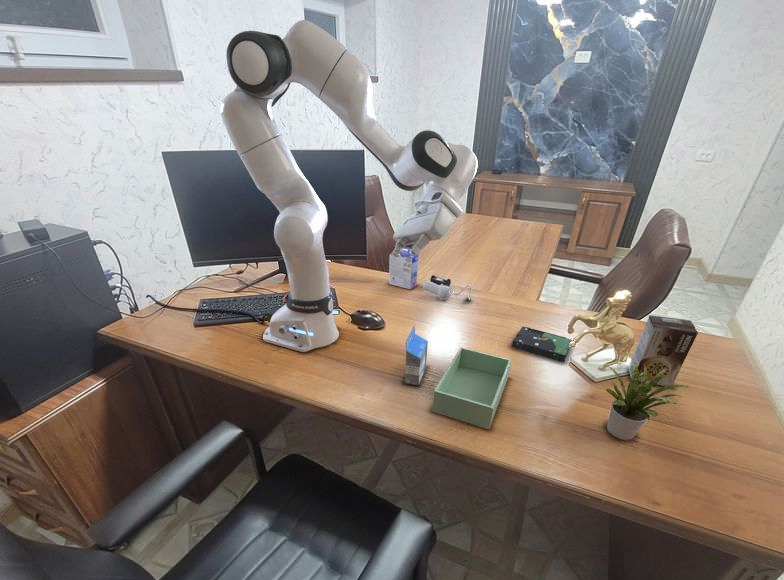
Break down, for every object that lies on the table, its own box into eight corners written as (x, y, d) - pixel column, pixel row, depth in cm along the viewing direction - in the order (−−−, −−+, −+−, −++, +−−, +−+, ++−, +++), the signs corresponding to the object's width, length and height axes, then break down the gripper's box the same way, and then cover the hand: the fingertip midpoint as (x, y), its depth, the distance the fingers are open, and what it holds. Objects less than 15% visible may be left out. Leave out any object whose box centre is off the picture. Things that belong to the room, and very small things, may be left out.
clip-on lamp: (473, 302, 144) (430, 283, 149) (479, 287, 141) (435, 267, 145) (463, 312, 135) (418, 291, 139) (470, 296, 131) (423, 275, 136)
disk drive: (510, 349, 113) (564, 364, 106) (512, 340, 111) (567, 355, 104) (520, 333, 120) (571, 346, 113) (522, 325, 118) (574, 338, 112)
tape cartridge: (419, 386, 97) (421, 345, 91) (404, 383, 98) (405, 342, 92) (426, 366, 105) (429, 326, 98) (412, 364, 106) (414, 324, 99)
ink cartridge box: (417, 285, 150) (419, 248, 142) (411, 290, 146) (412, 252, 138) (395, 279, 154) (396, 243, 146) (388, 284, 150) (388, 247, 142)
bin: (489, 429, 85) (493, 408, 82) (432, 411, 90) (434, 390, 86) (507, 379, 100) (511, 359, 97) (458, 365, 105) (460, 346, 102)
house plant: (680, 454, 79) (719, 392, 70) (622, 465, 77) (653, 402, 68) (630, 408, 91) (657, 350, 82) (577, 416, 88) (599, 357, 80)
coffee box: (665, 373, 103) (692, 319, 94) (671, 388, 97) (700, 332, 89) (626, 366, 105) (649, 313, 96) (631, 380, 100) (655, 326, 91)
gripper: (404, 206, 103) (376, 249, 101) (448, 191, 85) (415, 242, 83) (421, 222, 106) (394, 264, 104) (467, 210, 87) (435, 261, 86)
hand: (403, 254), depth 94 cm, fingers open, 8 cm apart
